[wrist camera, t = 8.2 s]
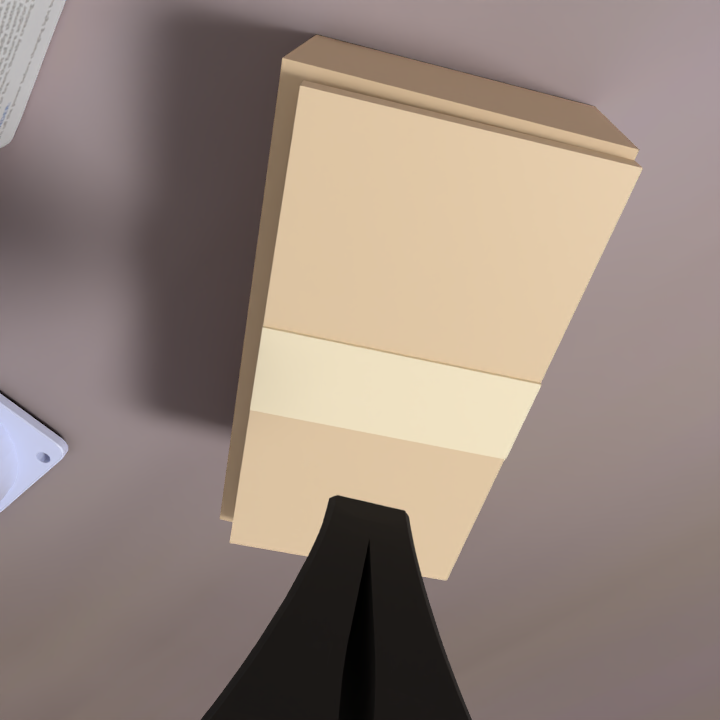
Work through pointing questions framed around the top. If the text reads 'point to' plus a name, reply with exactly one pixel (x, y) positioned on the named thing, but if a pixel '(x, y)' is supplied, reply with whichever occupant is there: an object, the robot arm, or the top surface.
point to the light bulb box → (22, 55)
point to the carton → (409, 87)
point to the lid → (412, 313)
